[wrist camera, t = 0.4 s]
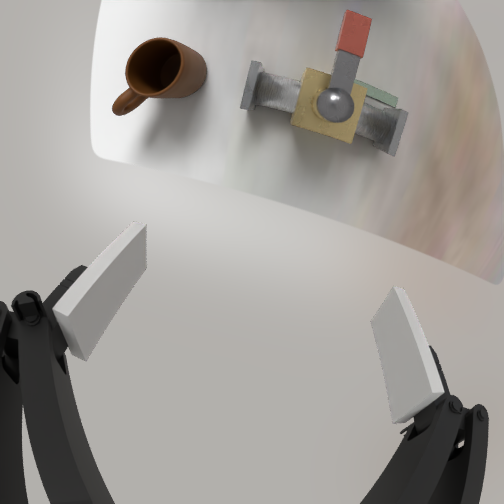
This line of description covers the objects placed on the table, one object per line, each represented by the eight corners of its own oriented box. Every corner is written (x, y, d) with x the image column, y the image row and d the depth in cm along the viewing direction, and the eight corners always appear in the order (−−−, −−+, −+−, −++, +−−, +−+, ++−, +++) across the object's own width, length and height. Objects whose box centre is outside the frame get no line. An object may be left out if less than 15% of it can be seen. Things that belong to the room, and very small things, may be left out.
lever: (339, 12, 18) (342, 7, 16) (372, 24, 18) (376, 20, 16) (312, 115, 24) (313, 116, 23) (345, 126, 24) (348, 127, 23)
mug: (156, 128, 35) (122, 137, 27) (128, 93, 32) (91, 96, 24) (219, 75, 30) (198, 66, 22) (188, 39, 28) (160, 24, 20)
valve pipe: (260, 52, 28) (253, 37, 21) (397, 97, 28) (426, 98, 21) (246, 111, 33) (234, 112, 25) (380, 152, 33) (405, 166, 26)
